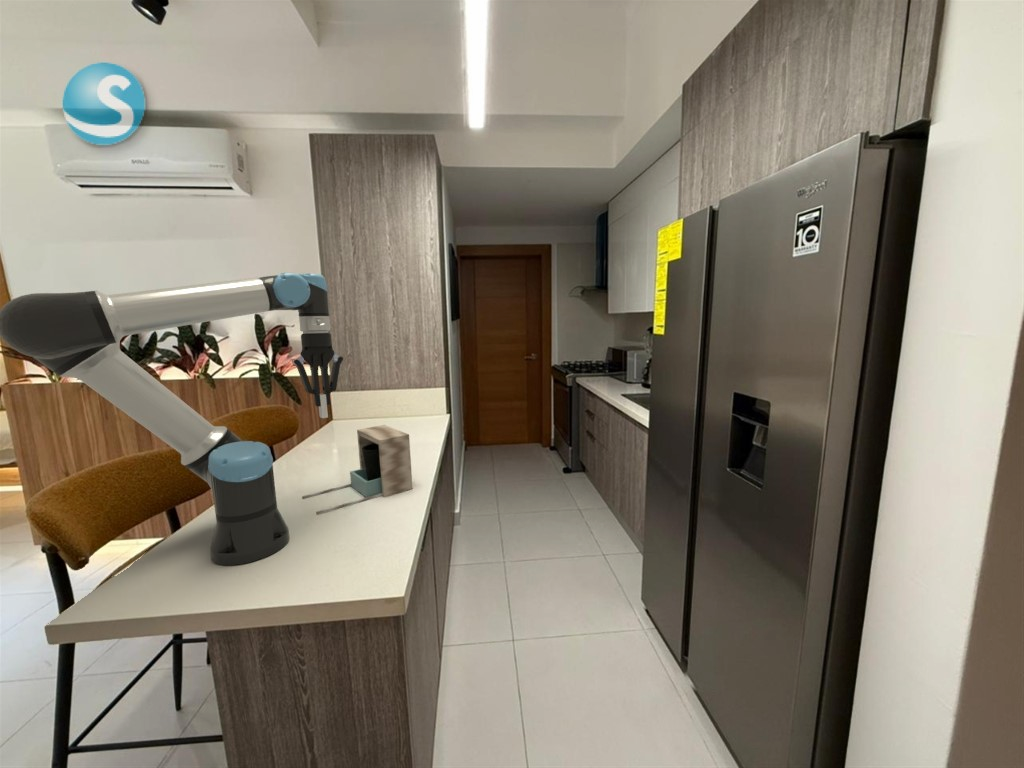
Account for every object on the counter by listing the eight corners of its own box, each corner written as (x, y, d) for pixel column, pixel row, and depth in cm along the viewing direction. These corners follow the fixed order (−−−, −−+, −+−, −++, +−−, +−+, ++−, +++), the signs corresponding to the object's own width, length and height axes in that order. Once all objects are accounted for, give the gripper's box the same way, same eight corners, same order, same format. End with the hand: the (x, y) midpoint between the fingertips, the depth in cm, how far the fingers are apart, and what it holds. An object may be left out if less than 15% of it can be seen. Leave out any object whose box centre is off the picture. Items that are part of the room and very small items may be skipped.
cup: (383, 489, 125) (380, 450, 123) (360, 488, 126) (356, 450, 125) (395, 480, 132) (392, 443, 131) (373, 479, 134) (370, 442, 132)
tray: (367, 498, 121) (365, 482, 120) (351, 486, 130) (349, 471, 130) (405, 487, 128) (404, 472, 128) (387, 476, 138) (386, 462, 137)
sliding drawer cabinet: (318, 516, 110) (312, 454, 108) (300, 496, 124) (295, 440, 121) (412, 488, 127) (409, 434, 125) (387, 474, 141) (384, 424, 138)
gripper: (293, 333, 107) (302, 423, 110) (344, 331, 115) (351, 415, 118) (286, 333, 113) (295, 419, 116) (336, 331, 121) (343, 411, 124)
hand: (323, 417), depth 117 cm, fingers closed
